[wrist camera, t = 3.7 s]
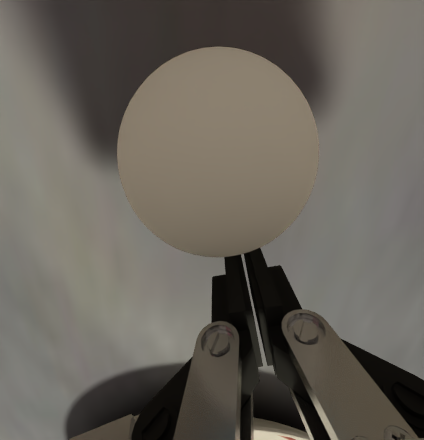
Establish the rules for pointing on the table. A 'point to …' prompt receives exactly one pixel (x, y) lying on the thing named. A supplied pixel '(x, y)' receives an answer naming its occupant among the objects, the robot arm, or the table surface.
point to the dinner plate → (276, 431)
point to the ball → (218, 152)
